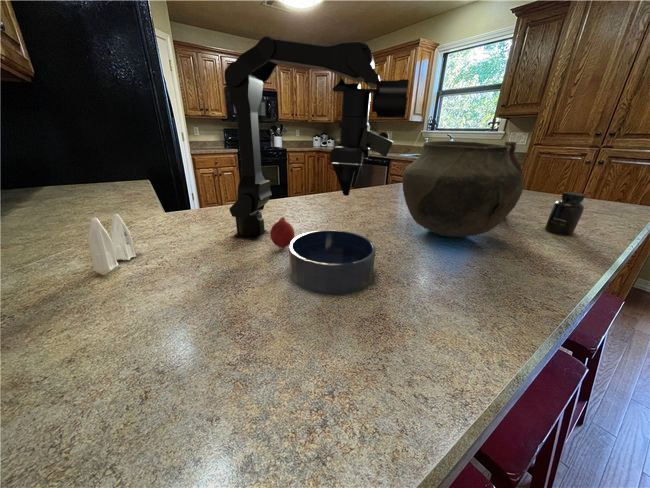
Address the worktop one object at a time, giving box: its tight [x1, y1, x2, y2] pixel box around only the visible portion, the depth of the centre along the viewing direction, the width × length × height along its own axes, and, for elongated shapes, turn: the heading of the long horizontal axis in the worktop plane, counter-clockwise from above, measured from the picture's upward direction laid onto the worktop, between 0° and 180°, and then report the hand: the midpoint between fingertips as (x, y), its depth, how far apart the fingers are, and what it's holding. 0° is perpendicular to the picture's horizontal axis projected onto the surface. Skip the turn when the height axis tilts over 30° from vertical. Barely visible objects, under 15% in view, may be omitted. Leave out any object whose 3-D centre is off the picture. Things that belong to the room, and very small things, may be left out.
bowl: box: [288, 229, 377, 295], centre depth 55 cm, size 17×17×6 cm
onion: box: [269, 216, 296, 249], centre depth 65 cm, size 6×6×8 cm
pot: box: [401, 140, 525, 238], centre depth 74 cm, size 29×32×25 cm
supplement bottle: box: [544, 191, 586, 237], centre depth 80 cm, size 7×7×12 cm
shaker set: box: [87, 213, 136, 276], centre depth 54 cm, size 12×4×11 cm, turn 9°
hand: (349, 191), depth 63 cm, fingers open, 9 cm apart
